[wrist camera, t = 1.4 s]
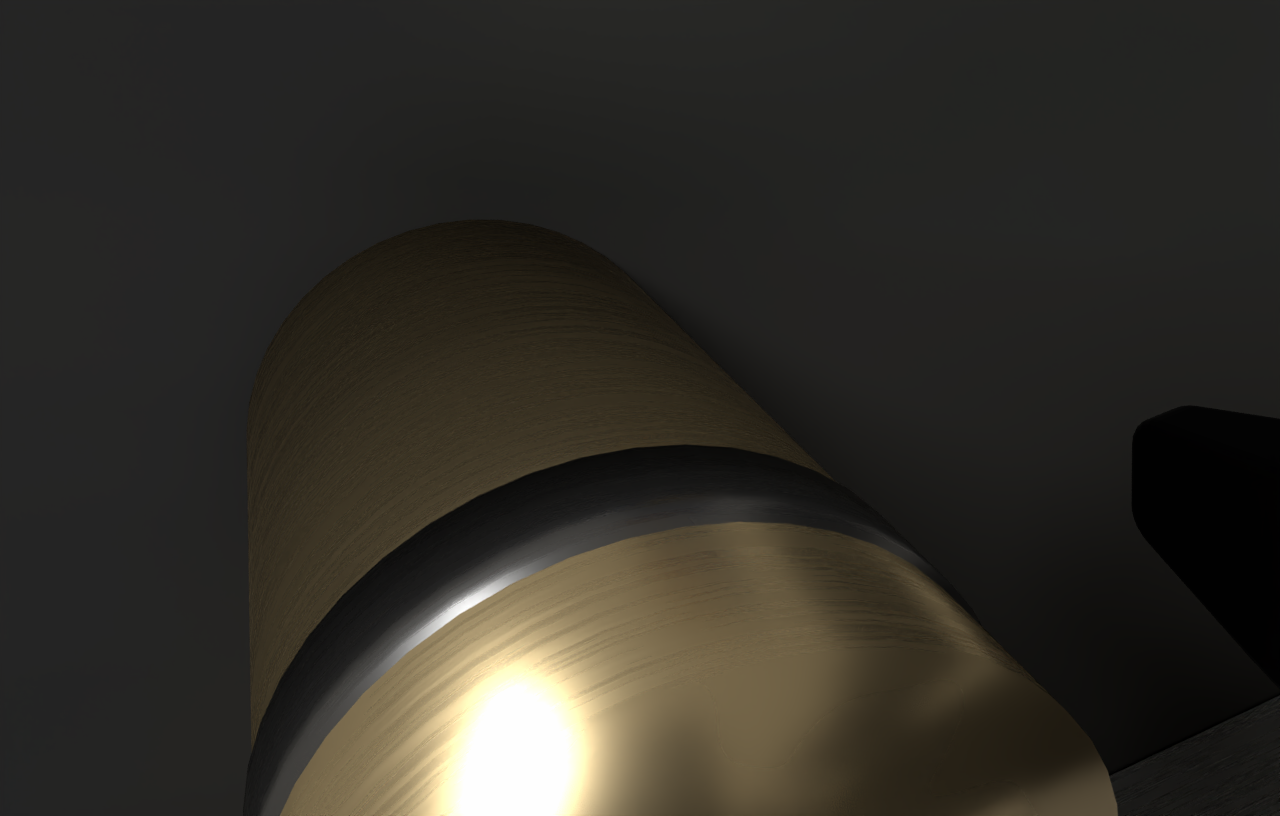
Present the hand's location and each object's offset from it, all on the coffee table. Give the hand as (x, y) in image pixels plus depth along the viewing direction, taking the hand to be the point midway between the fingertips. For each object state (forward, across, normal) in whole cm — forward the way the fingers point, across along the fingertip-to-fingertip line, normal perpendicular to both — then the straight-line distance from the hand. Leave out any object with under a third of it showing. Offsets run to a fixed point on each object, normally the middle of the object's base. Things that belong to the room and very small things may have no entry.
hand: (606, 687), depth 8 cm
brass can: (+4, 0, 0) cm, 4 cm away
